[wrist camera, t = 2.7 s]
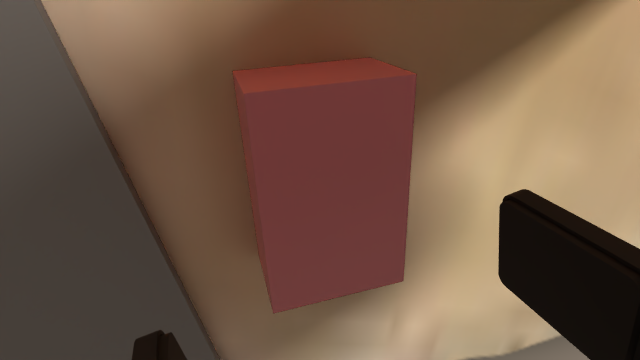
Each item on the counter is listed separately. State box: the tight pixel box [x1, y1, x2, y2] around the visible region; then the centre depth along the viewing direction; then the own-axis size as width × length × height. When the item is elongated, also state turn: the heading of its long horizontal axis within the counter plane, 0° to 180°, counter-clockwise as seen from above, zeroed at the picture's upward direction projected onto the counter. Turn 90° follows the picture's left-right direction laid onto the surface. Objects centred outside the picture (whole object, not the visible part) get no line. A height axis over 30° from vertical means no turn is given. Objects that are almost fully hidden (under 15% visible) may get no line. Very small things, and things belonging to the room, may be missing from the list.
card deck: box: [232, 57, 417, 313], centre depth 15 cm, size 6×8×4 cm, turn 3°
